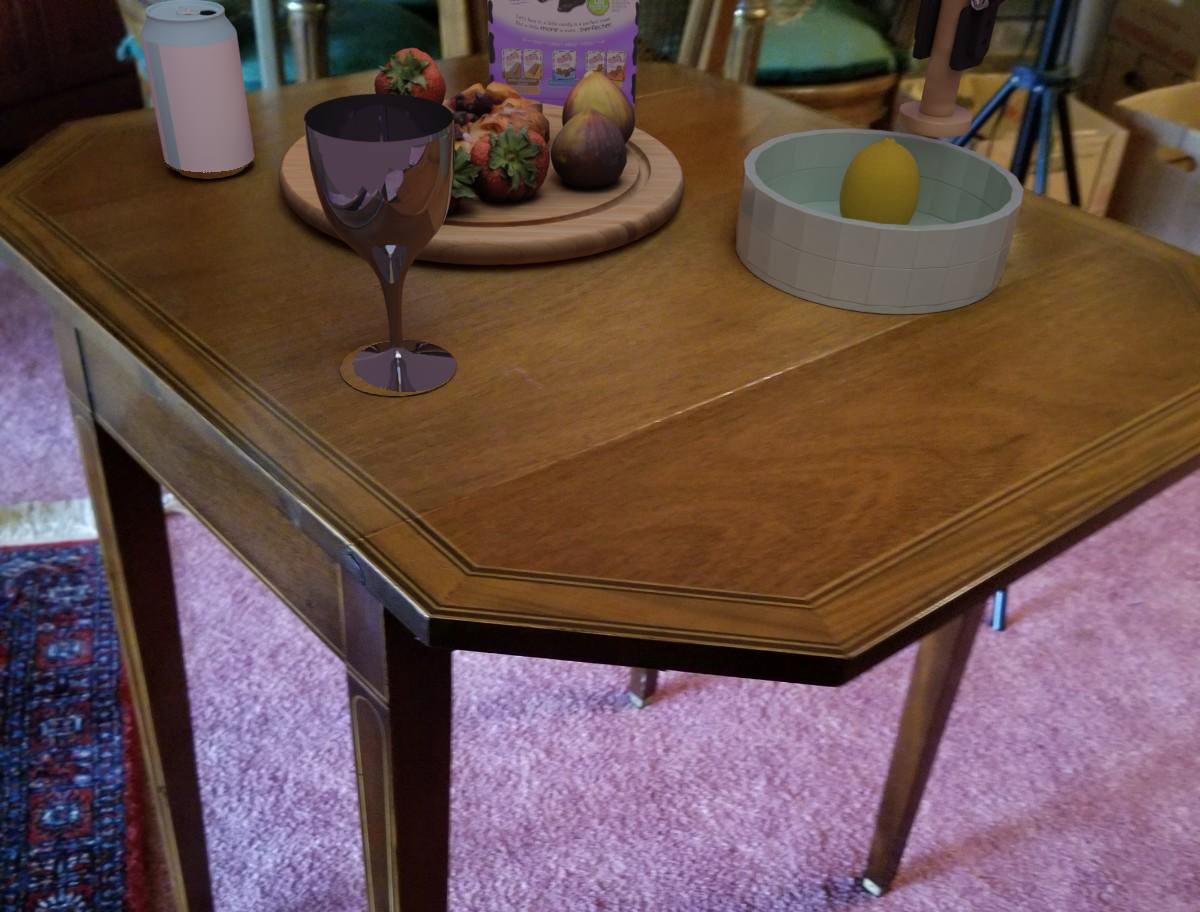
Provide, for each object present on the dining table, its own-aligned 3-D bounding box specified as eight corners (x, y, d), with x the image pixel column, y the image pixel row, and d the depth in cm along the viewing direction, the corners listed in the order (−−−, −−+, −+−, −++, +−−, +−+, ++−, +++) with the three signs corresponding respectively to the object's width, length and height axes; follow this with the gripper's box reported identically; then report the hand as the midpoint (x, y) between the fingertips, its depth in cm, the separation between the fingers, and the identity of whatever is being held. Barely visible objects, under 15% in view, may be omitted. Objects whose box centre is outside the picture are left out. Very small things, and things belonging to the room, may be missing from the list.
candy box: (632, 92, 118) (642, -100, 107) (635, 111, 113) (645, -87, 103) (491, 87, 117) (487, -106, 107) (487, 106, 113) (483, -93, 102)
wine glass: (444, 329, 78) (432, 88, 69) (479, 388, 72) (472, 134, 63) (321, 346, 76) (291, 99, 66) (347, 409, 70) (319, 148, 60)
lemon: (828, 257, 88) (846, 146, 83) (835, 228, 92) (853, 121, 87) (905, 267, 87) (928, 156, 82) (908, 238, 91) (931, 130, 86)
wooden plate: (260, 137, 104) (246, 35, 99) (609, 113, 113) (613, 17, 107) (311, 295, 81) (296, 173, 76) (746, 250, 89) (759, 137, 84)
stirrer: (983, 128, 87) (1020, -23, 81) (941, 143, 85) (975, -13, 78) (925, 109, 90) (956, -39, 84) (882, 122, 87) (910, -30, 81)
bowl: (1054, 265, 89) (1077, 185, 86) (891, 342, 79) (909, 254, 75) (848, 186, 100) (860, 112, 97) (681, 244, 90) (687, 163, 86)
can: (217, 146, 102) (192, -9, 95) (273, 166, 99) (252, 8, 91) (148, 168, 98) (115, 7, 90) (204, 190, 95) (175, 26, 87)
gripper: (1169, -247, 70) (1076, 82, 82) (942, -273, 79) (888, 27, 91) (1102, -244, 66) (1014, 102, 78) (871, -271, 75) (824, 42, 87)
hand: (947, 59), depth 84 cm, fingers closed on stirrer, 2 cm apart
